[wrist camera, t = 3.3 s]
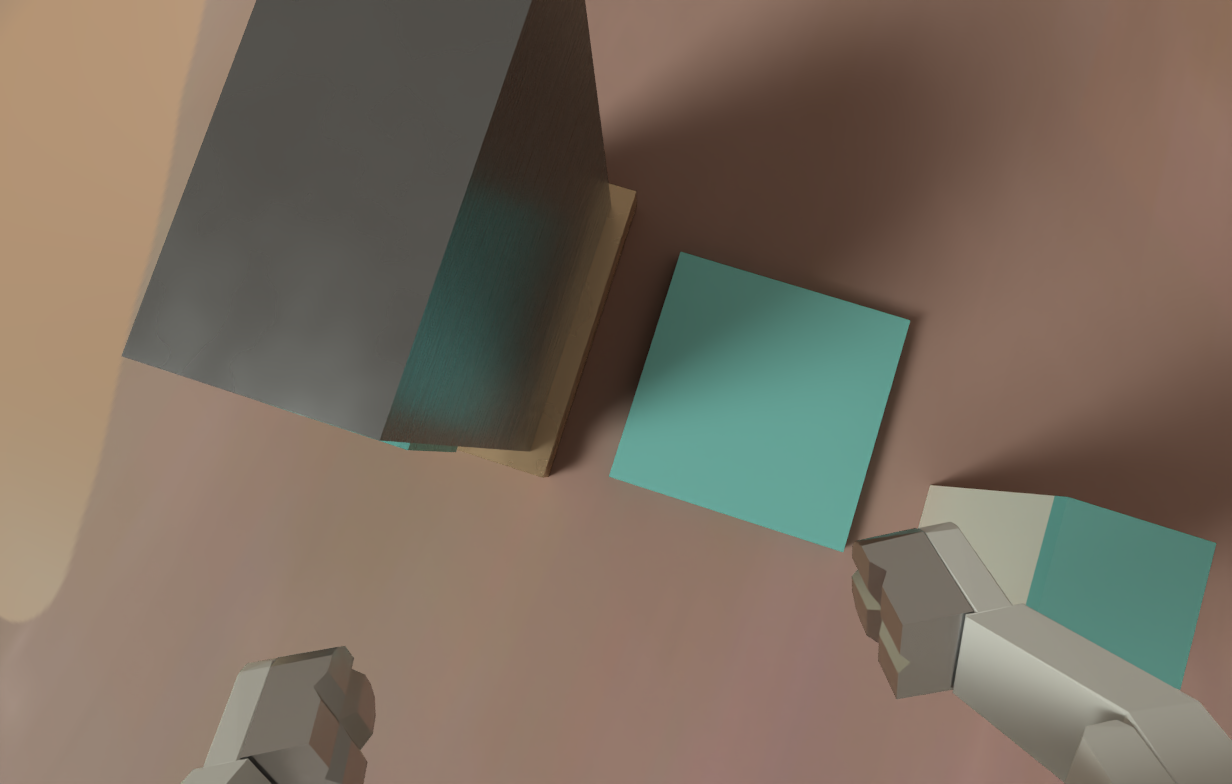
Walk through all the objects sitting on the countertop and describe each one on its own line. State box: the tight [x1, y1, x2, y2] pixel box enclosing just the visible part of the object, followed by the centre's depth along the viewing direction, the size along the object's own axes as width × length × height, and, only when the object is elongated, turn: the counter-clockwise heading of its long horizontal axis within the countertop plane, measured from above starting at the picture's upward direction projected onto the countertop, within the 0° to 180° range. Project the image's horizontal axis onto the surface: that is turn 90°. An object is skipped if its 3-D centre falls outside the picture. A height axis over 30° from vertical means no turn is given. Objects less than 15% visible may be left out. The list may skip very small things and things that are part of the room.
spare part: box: [918, 485, 1216, 690], centre depth 30 cm, size 5×5×12 cm
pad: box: [609, 252, 910, 552], centre depth 36 cm, size 12×12×1 cm
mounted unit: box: [122, 0, 637, 478], centre depth 27 cm, size 15×8×22 cm, turn 162°
